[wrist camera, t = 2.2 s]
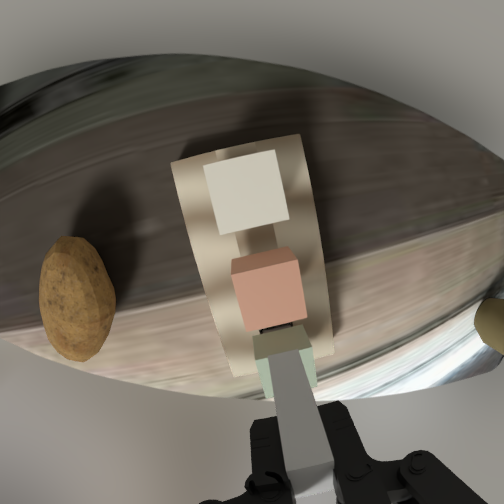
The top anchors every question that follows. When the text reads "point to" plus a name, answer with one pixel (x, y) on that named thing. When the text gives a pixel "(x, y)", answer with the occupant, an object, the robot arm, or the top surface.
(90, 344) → the potato
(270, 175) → the block cream
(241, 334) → the board
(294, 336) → the block sage
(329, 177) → the top surface
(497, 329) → the squeeze bottle
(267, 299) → the block terracotta
